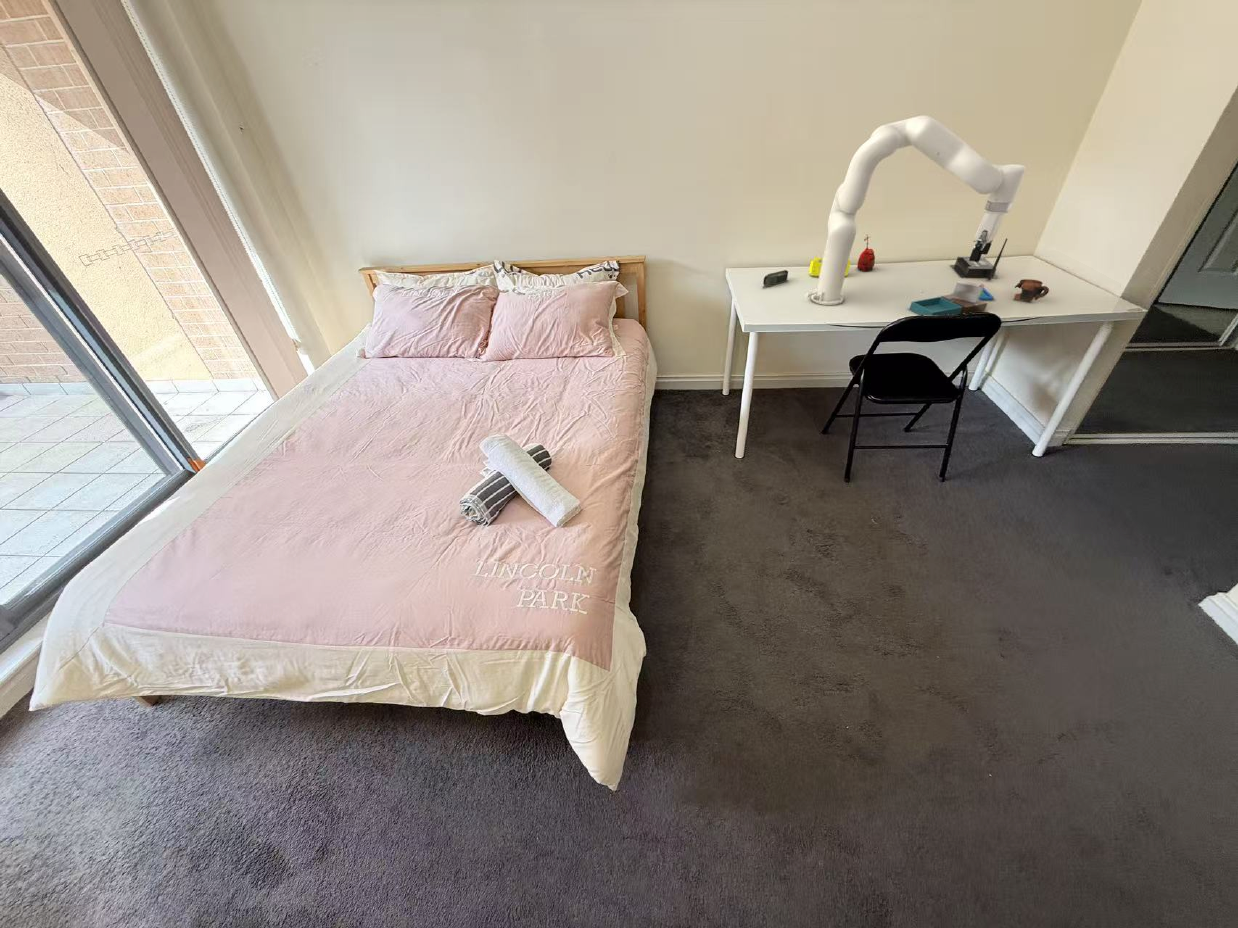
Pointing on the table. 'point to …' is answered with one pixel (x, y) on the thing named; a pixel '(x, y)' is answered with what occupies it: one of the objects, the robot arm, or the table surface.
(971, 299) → the white block
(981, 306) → the panel
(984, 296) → the handheld gaming device
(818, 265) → the yellow toy chassis
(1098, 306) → the table surface
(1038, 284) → the pottery mug
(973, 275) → the wireless controller
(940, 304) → the basin
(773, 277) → the mobile phone
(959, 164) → the robot arm
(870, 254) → the red clay folk toy
